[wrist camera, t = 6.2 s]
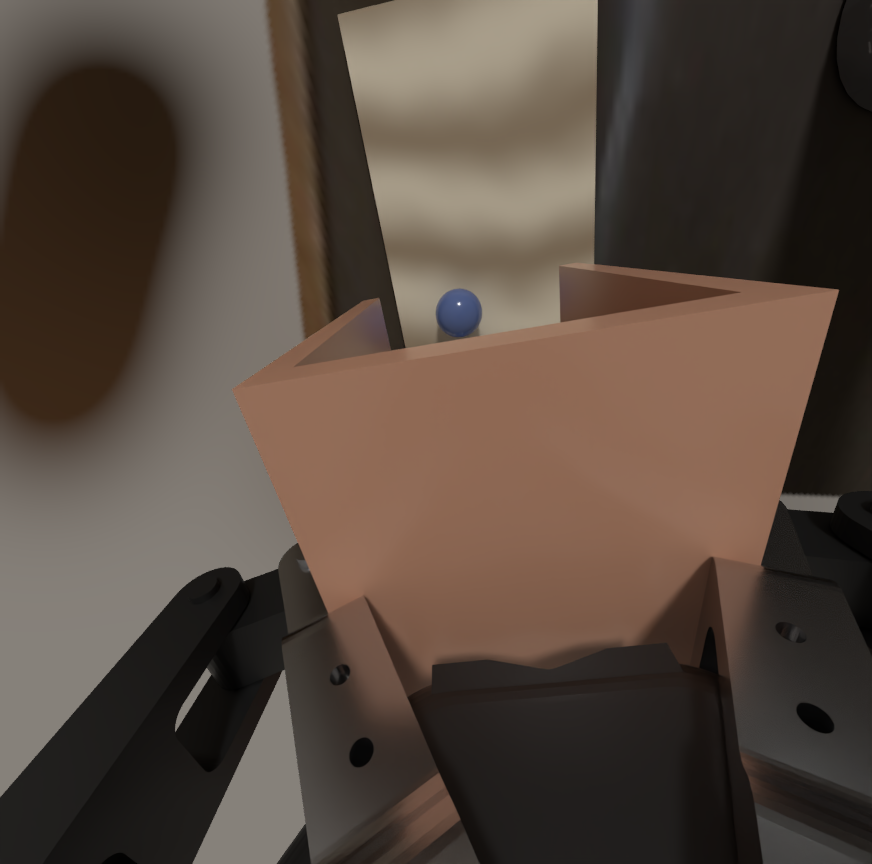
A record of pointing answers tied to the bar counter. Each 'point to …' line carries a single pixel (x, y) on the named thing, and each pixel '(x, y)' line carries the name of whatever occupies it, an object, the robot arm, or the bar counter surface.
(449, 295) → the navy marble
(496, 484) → the terracotta cover
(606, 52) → the bar counter surface
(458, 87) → the birch mat
